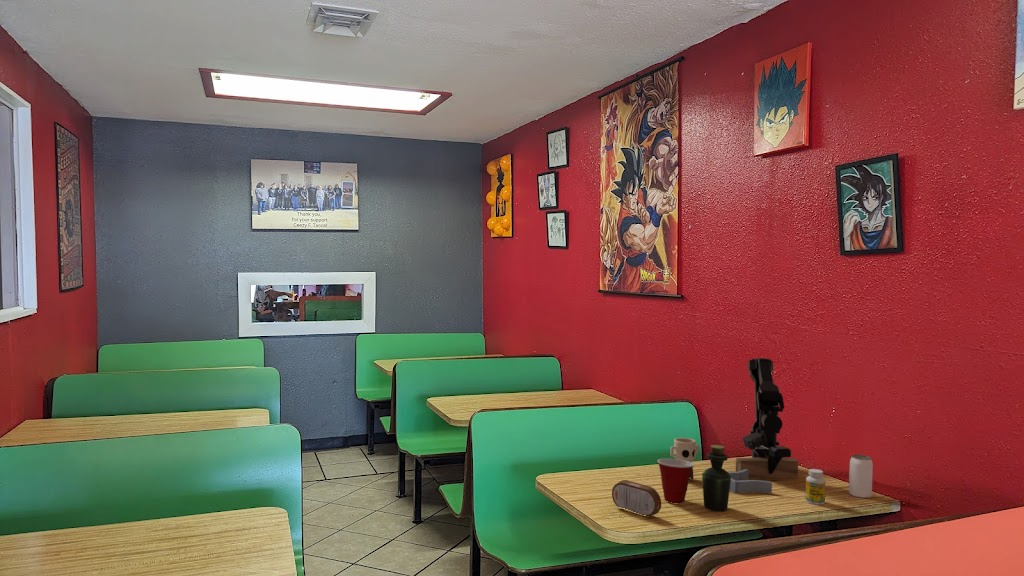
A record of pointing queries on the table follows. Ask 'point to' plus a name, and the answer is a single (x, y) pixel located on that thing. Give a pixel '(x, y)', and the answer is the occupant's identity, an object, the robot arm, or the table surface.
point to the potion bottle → (716, 481)
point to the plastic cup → (675, 478)
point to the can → (860, 476)
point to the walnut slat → (760, 467)
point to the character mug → (685, 450)
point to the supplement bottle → (815, 487)
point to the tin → (636, 497)
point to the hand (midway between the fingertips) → (766, 471)
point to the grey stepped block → (748, 483)
